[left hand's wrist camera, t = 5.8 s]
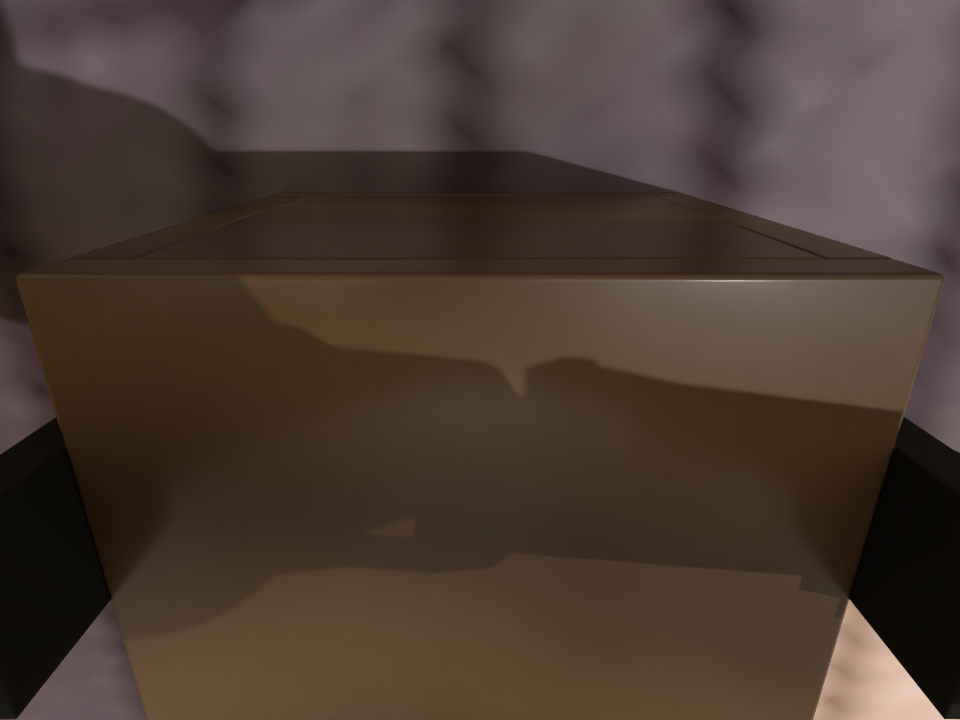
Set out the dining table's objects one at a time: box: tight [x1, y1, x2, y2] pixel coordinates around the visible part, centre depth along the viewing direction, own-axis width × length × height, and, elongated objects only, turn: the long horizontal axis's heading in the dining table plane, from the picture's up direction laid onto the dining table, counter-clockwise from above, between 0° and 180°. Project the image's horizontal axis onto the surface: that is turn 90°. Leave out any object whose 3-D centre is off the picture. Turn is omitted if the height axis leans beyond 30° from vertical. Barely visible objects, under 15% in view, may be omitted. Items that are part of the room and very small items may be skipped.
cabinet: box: [16, 193, 944, 720], centre depth 16 cm, size 21×12×10 cm, turn 0°
